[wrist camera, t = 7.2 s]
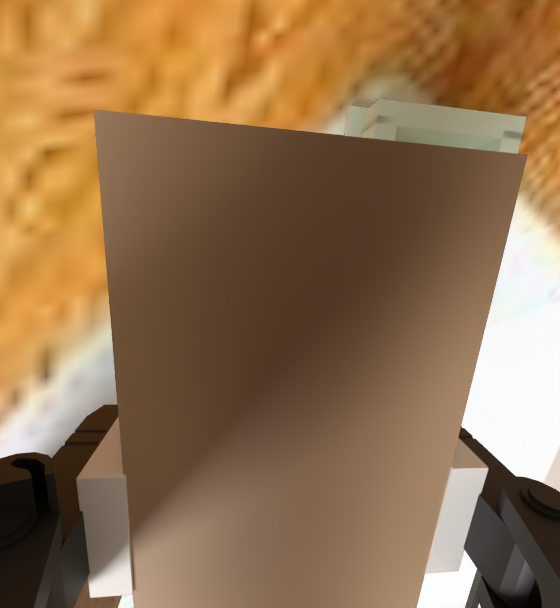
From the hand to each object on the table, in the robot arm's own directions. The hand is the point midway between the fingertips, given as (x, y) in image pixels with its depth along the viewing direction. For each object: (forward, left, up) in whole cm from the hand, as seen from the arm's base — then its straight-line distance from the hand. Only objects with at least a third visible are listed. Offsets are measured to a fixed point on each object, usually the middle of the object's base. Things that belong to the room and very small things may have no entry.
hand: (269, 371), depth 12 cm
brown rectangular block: (0, 0, -1) cm, 1 cm away
